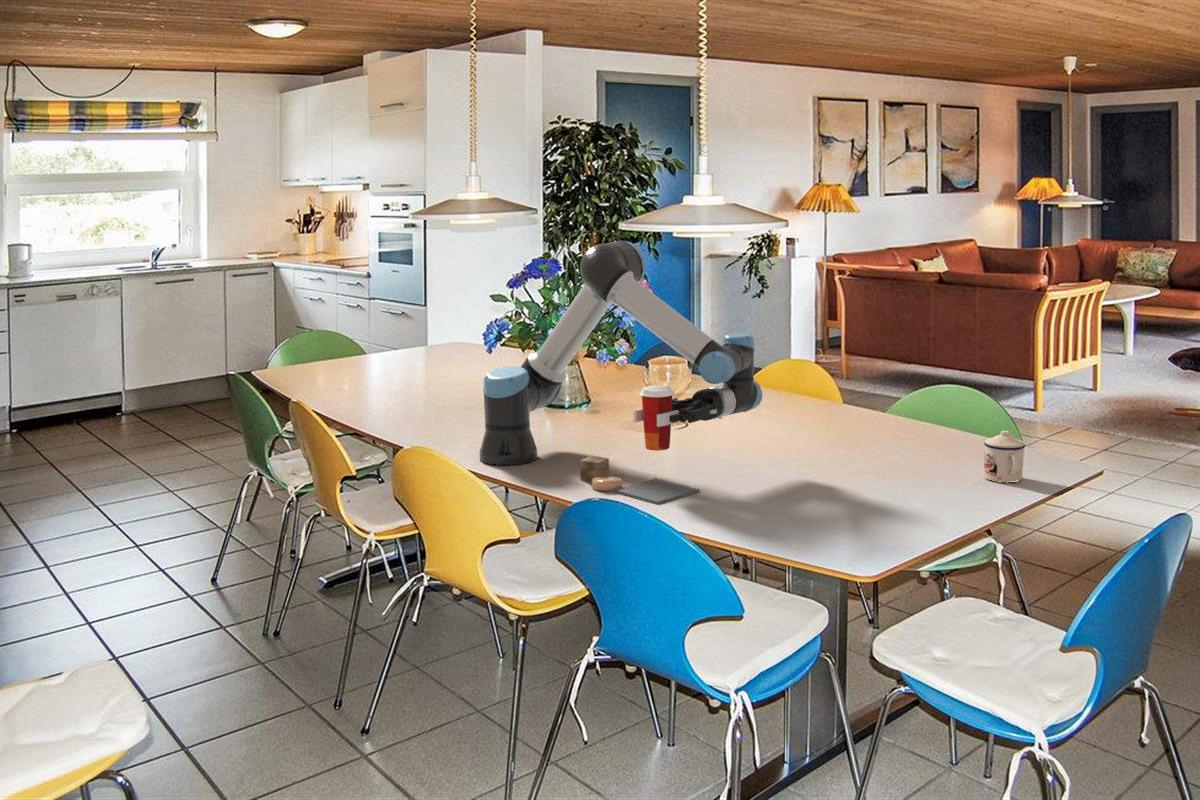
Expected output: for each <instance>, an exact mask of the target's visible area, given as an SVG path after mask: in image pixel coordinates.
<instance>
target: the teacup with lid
mask: <svg viewBox="0 0 1200 800" xmlns="http://www.w3.org/2000/svg"><path fill="white" fill-rule="evenodd" d="M1010 434H1011V433H1010V431H1008V430H1002V431H1000V434H998V435H995V436H994V437H989V438H986V439H985V441H984V443H983V444H984V445H985V446H984V448H985V449H984V464H983V477H985V478H987V479H990V480H994V481H1001V482H1010V481H1017V480H1021V479H1022V480H1023V469H1024V467H1023V466H1024V454H1025V453H1024V450H1025V447H1026V443H1025V442H1024V441H1023V440H1022V439H1019V438H1017V437H1015V436H1014V435H1010ZM985 478H984V479H985ZM987 479H986V480H987ZM1022 480H1021V481H1022Z"/></svg>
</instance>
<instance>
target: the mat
mask: <svg viewBox="0 0 1200 800" xmlns="http://www.w3.org/2000/svg"><path fill="white" fill-rule="evenodd" d="M613 492H614V493H615V494H620V495H623V496H625V497H630V498H634V499H637V500H642V501H644V502H648V503H651V502H652V504H655V505H659V503H660V504H663V502H664V503H667V502H670V501H673V500H672V499H674V500H676V498H677V499H679V498H683V496H684V497H686V496H690V495H693V494H697V493H699V492H700V488H696V487H692V486H689V485H683V484H681V483H676V482H673V481H668V480H665V479H660V478H657V477H655V478H652V479H647V480H645V481H641V482H637V483H634V484H630V485H626V486H622V488H619V489H615V490H614V491H613ZM669 500H670V501H669ZM666 501H667V502H666Z"/></svg>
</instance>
